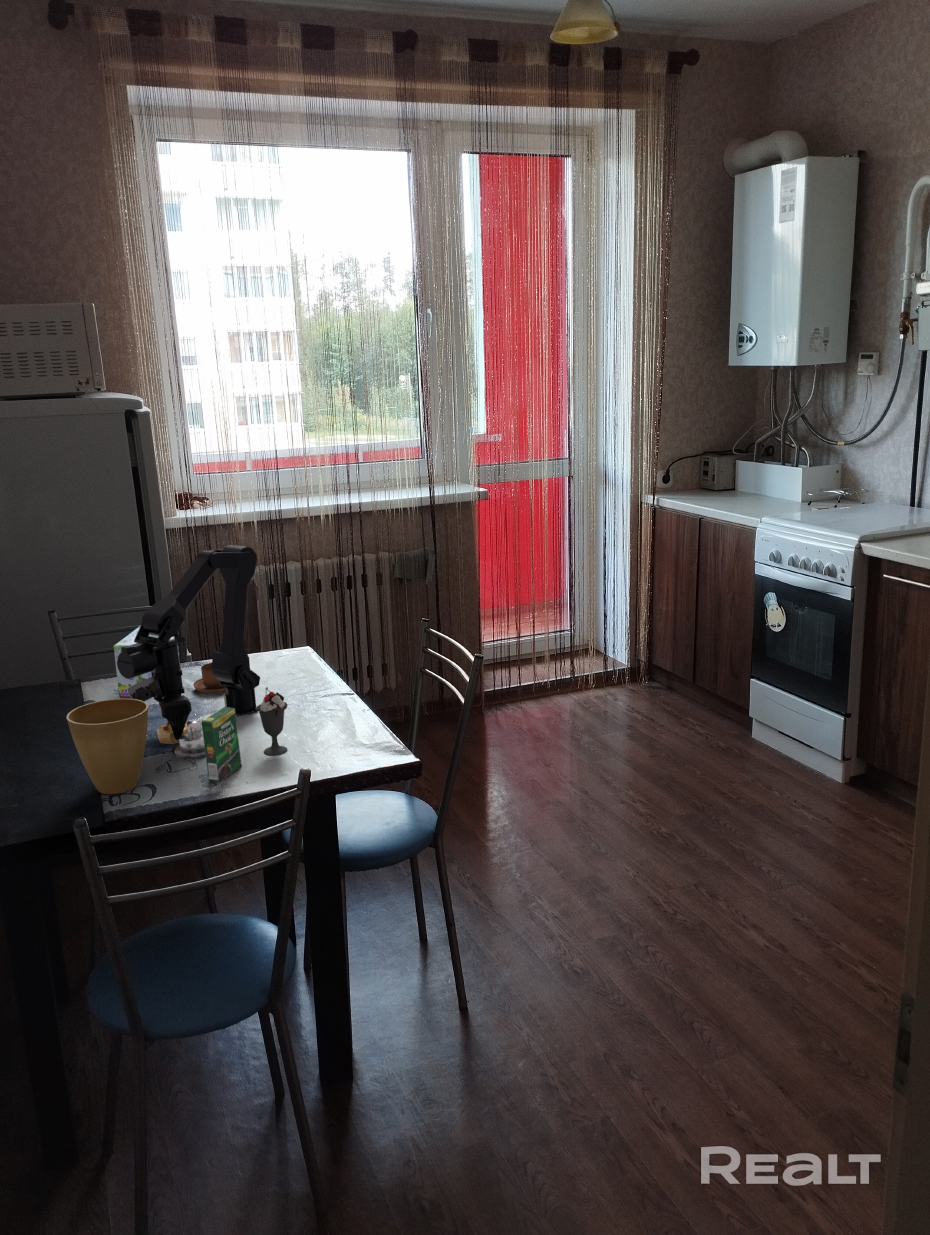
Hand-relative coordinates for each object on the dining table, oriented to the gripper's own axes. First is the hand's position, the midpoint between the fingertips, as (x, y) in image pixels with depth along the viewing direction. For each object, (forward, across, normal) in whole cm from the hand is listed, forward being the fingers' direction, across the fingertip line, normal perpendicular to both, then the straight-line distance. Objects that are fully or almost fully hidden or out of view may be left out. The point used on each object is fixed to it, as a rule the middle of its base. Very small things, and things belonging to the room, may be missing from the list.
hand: (174, 732), depth 213 cm
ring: (+1, 0, 0) cm, 1 cm away
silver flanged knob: (+1, +10, +3) cm, 11 cm away
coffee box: (+1, +26, +6) cm, 27 cm away
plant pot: (+1, +21, -14) cm, 25 cm away
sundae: (+1, +19, +18) cm, 26 cm away
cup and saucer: (+2, -30, +15) cm, 34 cm away
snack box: (+2, -39, -2) cm, 39 cm away
